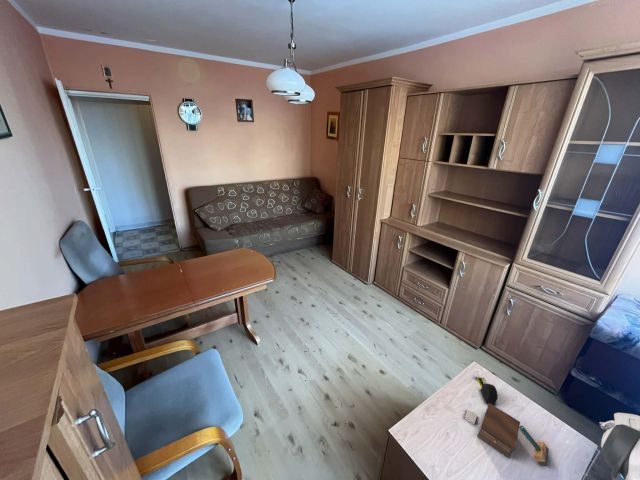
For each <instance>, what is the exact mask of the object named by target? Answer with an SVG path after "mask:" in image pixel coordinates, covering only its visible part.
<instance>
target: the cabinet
mask: <svg viewBox="0 0 640 480" xmlns="http://www.w3.org/2000/svg"><path fill="white" fill-rule="evenodd" d="M486 407H487V408H486V409H485V412H484V414H483V417H482V419H481V422H480V425H479V429H478V431H477V434H476V437H477V438H478V439H480V440H481V441H483V442H484V443H486V444H487V445H489V446H490V447H492V448H493V449H494V450H496V451H497V452H499V453H500V454H501V455H503V457H506V458H509V456H510V455H511V453H512V452H513V450H516V445H517V440H518V435H519V431H520V429H519V427H520V426H521V421H519V420H518V419H516V418H514V417H513V416H512V415H510V414H508V413H507V412H505V411H503V410H502V409H500V408H499V407H497V406H495V405H492V404H490V403H489V404H487V406H486Z"/></svg>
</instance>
